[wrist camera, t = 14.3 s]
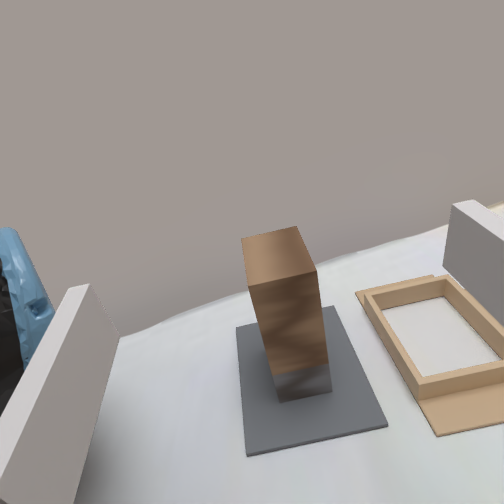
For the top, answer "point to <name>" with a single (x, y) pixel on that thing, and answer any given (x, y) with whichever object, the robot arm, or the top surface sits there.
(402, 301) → the carton
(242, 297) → the top surface
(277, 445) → the mat
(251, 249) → the walnut box
